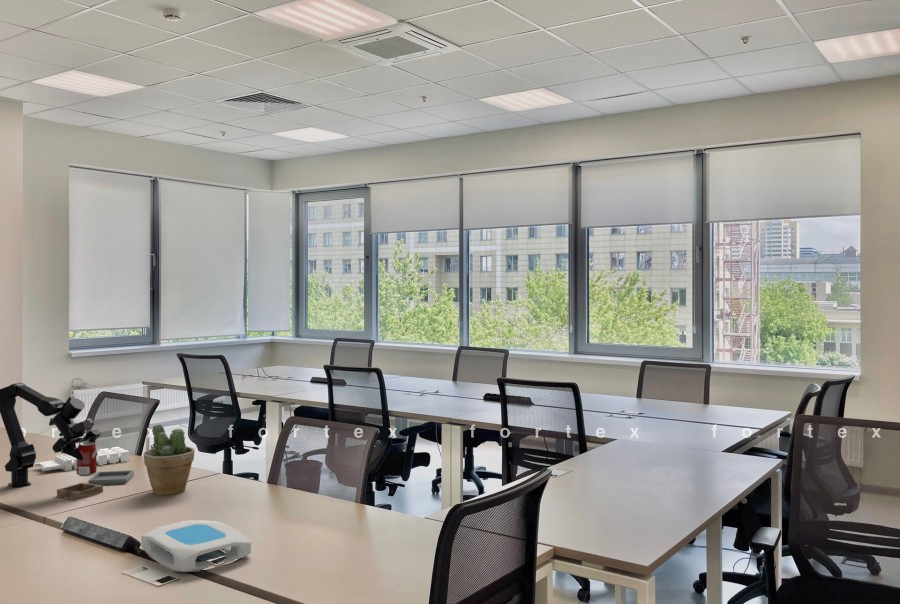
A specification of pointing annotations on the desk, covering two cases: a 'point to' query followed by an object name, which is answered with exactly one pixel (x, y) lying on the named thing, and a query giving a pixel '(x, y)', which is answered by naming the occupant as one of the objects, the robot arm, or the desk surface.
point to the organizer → (71, 462)
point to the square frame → (88, 491)
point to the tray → (111, 477)
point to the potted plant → (168, 461)
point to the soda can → (87, 459)
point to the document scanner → (193, 544)
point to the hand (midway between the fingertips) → (89, 457)
